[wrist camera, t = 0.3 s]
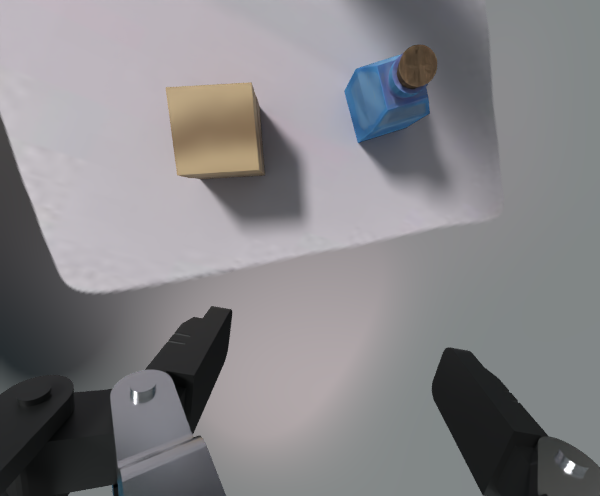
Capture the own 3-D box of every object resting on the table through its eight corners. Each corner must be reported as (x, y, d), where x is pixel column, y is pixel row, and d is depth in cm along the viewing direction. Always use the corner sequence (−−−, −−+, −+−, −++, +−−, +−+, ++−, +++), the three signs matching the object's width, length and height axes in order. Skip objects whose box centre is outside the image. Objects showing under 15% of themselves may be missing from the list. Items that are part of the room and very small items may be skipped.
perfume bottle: (344, 91, 35) (372, 37, 24) (393, 75, 35) (446, 13, 24) (357, 142, 36) (391, 115, 25) (406, 127, 36) (462, 93, 25)
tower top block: (181, 101, 32) (165, 87, 28) (255, 97, 32) (251, 82, 28) (190, 178, 33) (177, 175, 29) (262, 173, 33) (259, 169, 29)
